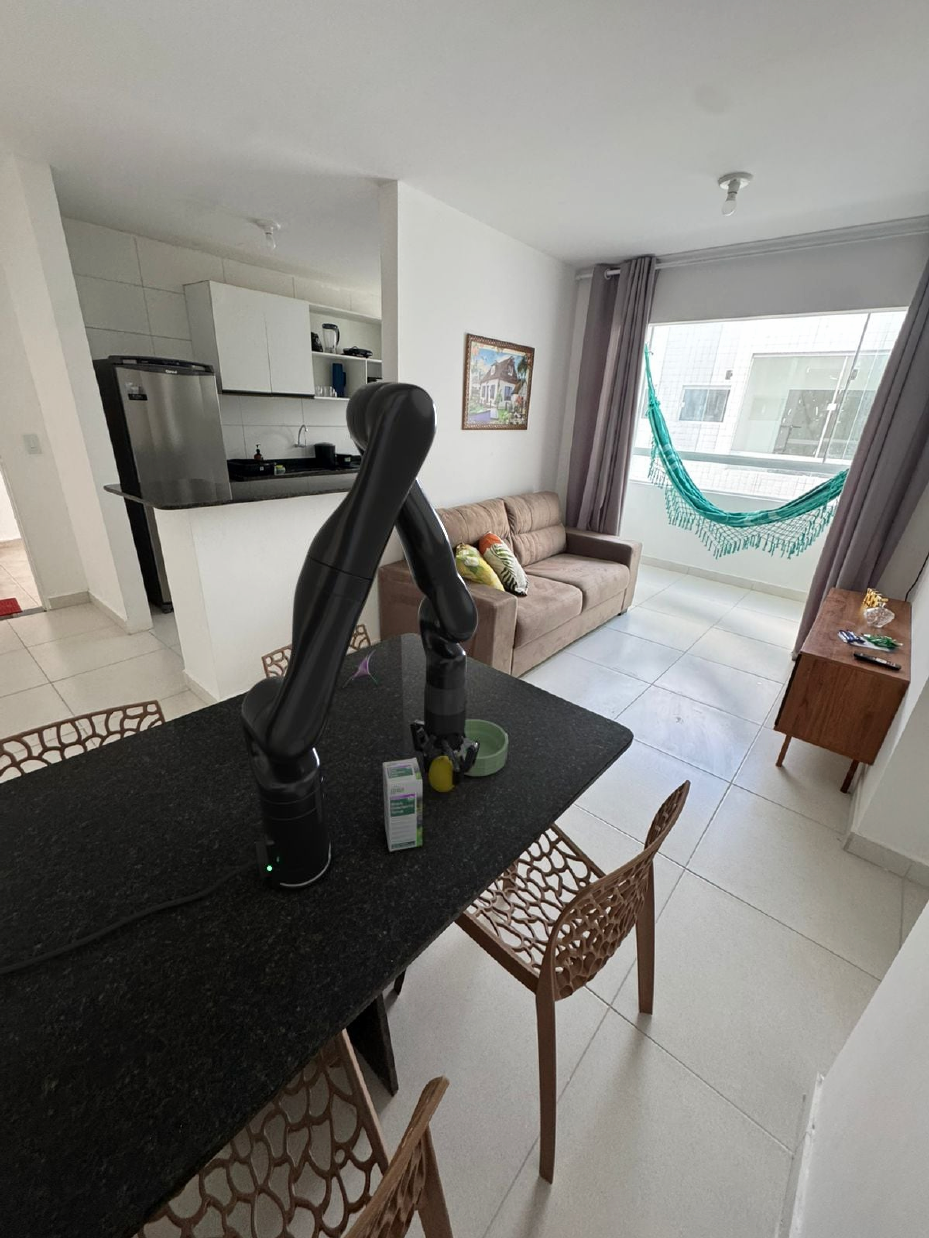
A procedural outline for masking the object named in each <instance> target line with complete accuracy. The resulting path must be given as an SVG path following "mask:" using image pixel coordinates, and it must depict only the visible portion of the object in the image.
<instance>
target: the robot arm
mask: <svg viewBox="0 0 929 1238" xmlns="http://www.w3.org/2000/svg"><path fill="white" fill-rule="evenodd" d="M345 421H346V427H347V430H348V433H349V435H350V438H351V440H352V442H353V444H354V445H355V448H356V449H357V451H358V453H359V455H360V457H361V461H360V465H359V468H358V471H357V474H356V477H355V479H354V481H353V483H352V485H351V486H350V489H349V490H348V492H347V494H346V495H345V497H344V498H343V499H342V501H341V502H340V504H339V505H338V506H337V507H336V508H335V509H334V511H333V512H332V513H331V514H330V515H329V517H328V518H327V519H326V520H325V522H324V523H323V524H322V525H321V527H320V528H319V530H317V532H316V534H315V536H314V537H313V539H312V541H311V542H310V545H309V548H308V549H307V552H306V555H305V558H304V561H303V563H302V566H301V569H300V572H299V574H298V576H297V577H298V578H297V581H296V583H295V584H296V585H295V588H294V594H293V600H292V601H293V602H292V604H293V605H292V621H291V622H292V623H291V647H290V654H289V659H288V663H287V668H286V671H285V673H284V675H271V676H268V677H265V678H263V679H261V680H260V681H257V682H256V683H255V684H254V685H253V686H252V687H251V688H250V689H249V690H248V692H247V693H246V694H245V697H244V698H243V701H242V705H241V713H240V716H241V725H242V731H243V737H244V741H245V747H246V752H247V758H248V763H249V766H250V769H251V771H252V775H253V777H254V780H255V781H254V782H255V785H256V791H257V796H258V803H259V809H260V815H261V823H262V830H263V838H264V839H263V840H261V841H257V842H255V850H256V858H254V859H253V860H251V861H250V860H249V862H247V863H244V864H243V865H240V866H239V867H237V868H235V869H233V870H231V871H229V872H228V873H226V874H225V875H223V876H222V877H221V878H219V879H218V880H217V881H216V882H215V883H213V885H211V886H209V887H207V888H206V889H203V890H201V891H199V892H196V893H193V894H191V895H187V896H184V897H180V898H176V899H173V900H169V901H165V902H162V903H158V904H156V905H152V906H149V907H148V908H147V907H146V908H145V909H142V910H140V911H137V912H135V913H133V914H130V915H128V916H125V918H122V919H120V920H117V921H116V922H114V923H112V924H110V925H108V926H106V927H104V928H102V929H100V930H98V931H96V932H93V933H92V934H89V935H87V936H85V937H83V938H81V939H78V940H76V941H73V942H71V943H69V944H66V945H63V946H61V947H58V948H56V949H54V950H51V951H48V952H46V953H43V954H40V955H38V956H35V957H32V958H29V959H26V960H23V961H20V962H17V963H13V964H10V965H6V966H3V967H0V976H2V975H5V974H8V973H12V972H15V971H18V970H21V969H24V968H27V967H30V966H33V965H36V964H38V963H41V962H44V961H47V960H49V959H52V958H55V957H57V956H59V955H63V954H64V953H67V952H69V951H73V950H75V949H76V948H79V947H81V946H84V945H86V944H88V943H90V942H92V941H94V940H97V939H99V938H101V937H103V936H105V935H107V934H109V933H111V932H113V931H115V930H117V929H119V928H121V927H123V926H124V925H127V924H129V923H131V922H133V921H135V920H137V919H140V918H142V917H145V916H147V915H149V914H152V913H155V912H159V911H161V910H164V909H168V908H172V907H175V906H179V905H183V904H186V903H190V902H192V901H195V900H199V899H200V898H203V897H205V896H207V895H210V894H211V893H213V892H215V891H216V890H217V889H219V888H220V887H221V886H222V885H223V884H225V883H226V882H227V881H229V880H230V879H232V878H233V877H235V876H236V875H238V874H240V873H242V872H245V871H246V870H248V869H250V868H252V867H255V866H256V865H258V866H257V867H258V870H259V876H260V877H259V878H260V879H264V878H266V877H270V881H271V887H272V890H277V889H283V890H289V891H297V890H302V889H305V888H308V887H310V886H313V885H314V884H316V883H317V882H319V881H320V880H321V879H322V878H323V877H324V876H325V875H326V874H327V872H328V871H329V868H330V865H331V862H332V861H331V848H332V847H331V845H330V842H329V833H328V832H329V831H328V821H327V820H328V818H327V809H326V798H325V786H324V785H325V784H324V775H323V766H322V765H323V764H322V760H321V757H320V755H319V752H318V750H317V747H316V746H317V745H318V744H319V742H320V740H321V739H322V737H323V735H324V732H325V730H326V726H327V724H328V720H329V716H330V713H331V709H332V705H333V701H334V697H335V693H336V689H337V685H338V682H339V678H340V674H341V671H342V668H343V665H344V662H345V659H346V656H347V654H348V651H349V649H350V645H351V643H352V641H353V637H354V634H355V631H356V629H357V627H358V624H359V621H360V618H361V616H362V613H363V610H364V609H365V606H366V604H367V601H368V598H369V596H370V593H371V590H372V587H373V585H374V582H375V579H376V578H377V575H378V571H379V568H380V565H381V562H382V559H383V556H384V554H385V551H386V548H387V546H388V544H389V541H390V539H391V536H392V534H393V531H394V528H395V531H396V534H397V536H398V540H399V542H400V545H401V547H402V550H403V554H404V557H405V560H406V562H407V566H408V569H409V572H410V575H411V577H412V580H413V583H414V585H415V587H416V588H417V590H419V592H421V593H422V594H423V595H424V597H423V598H422V600H421V601H420V604H419V607H418V612H417V623H418V630H419V635H420V639H421V643H422V647H423V651H424V655H425V683H424V690H423V718H422V717H418V718H416V719H415V720H414V721H413V722H412V723H410V733H411V738H412V744H413V749H414V751H415V752H417V753H418V752H420V753H421V756H422V767H423V769H424V772H425V773H426V774H428V775H429V769H430V766H431V763H432V762H433V761H434V760H435V758H436V757H435V750H440V751H442V752H443V753H444V752H445V753H447V756H448V759H449V761H452V764H453V767H454V769H453V785H455V786H454V787H458V785H460V784H461V783H462V782H463V781H464V779H465V774H464V772H465V773H467V772H468V771H469V770H470V769H471V768H472V766H474V765H475V761H476V758H477V754H478V751H479V747H480V742H479V741H478V740H475V741H474V742H473V741H471V740H469V739H467V738H466V734H465V731H464V729H465V724H466V720H467V706H468V705H467V704H468V687H467V673H468V656H467V655H468V654H467V652H466V651H465V650H464V648H463V647H462V646H461V644H463V643H465V642H467V641H469V640H470V639H471V638H472V637H473V636H474V635H475V633H476V631H477V628H478V624H479V614H478V609H477V606H476V603H475V600H474V598H473V597H472V595H471V592H470V591H469V589H468V587H467V585H466V583H465V581H464V580H463V578H462V576H461V575H460V573H459V570H458V567H457V563H456V559H455V555H454V552H453V547H452V545H451V541H450V537H449V535H448V532H447V530H446V528H445V525H444V523H443V521H442V520H441V517H440V516H439V515H438V513H437V511H436V509H435V508H434V506H433V505H432V503H431V501H430V500H429V498H428V496H427V494H426V492H425V490H424V488H423V487H422V485H421V483H420V480H419V478H418V476H419V473H420V471H421V469H422V467H423V465H424V463H425V461H426V460H427V457H428V455H429V453H430V450H431V449H432V446H433V444H434V440H435V437H436V433H437V428H438V427H437V425H438V414H437V409H436V405H435V403H434V400H433V397H432V396H431V394H429V392H428V391H427V390H426V389H424V388H423V387H421V386H419V385H417V384H413V383H408V382H399V381H398V382H395V381H373V382H372V381H371V382H368V383H364V384H362V385H360V386H359V387H357V388H356V389H355V390H353V392H352V394H351V395H350V397H349V399H348V401H347V403H346V409H345ZM426 737H427V738H428V740H427V738H426ZM462 744H463V745H464V746H465V753H466V757H464V754H463V753H464V749H463V746H462ZM455 750H456V751H455ZM454 751H455V752H454ZM458 760H459V761H458Z"/></svg>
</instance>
